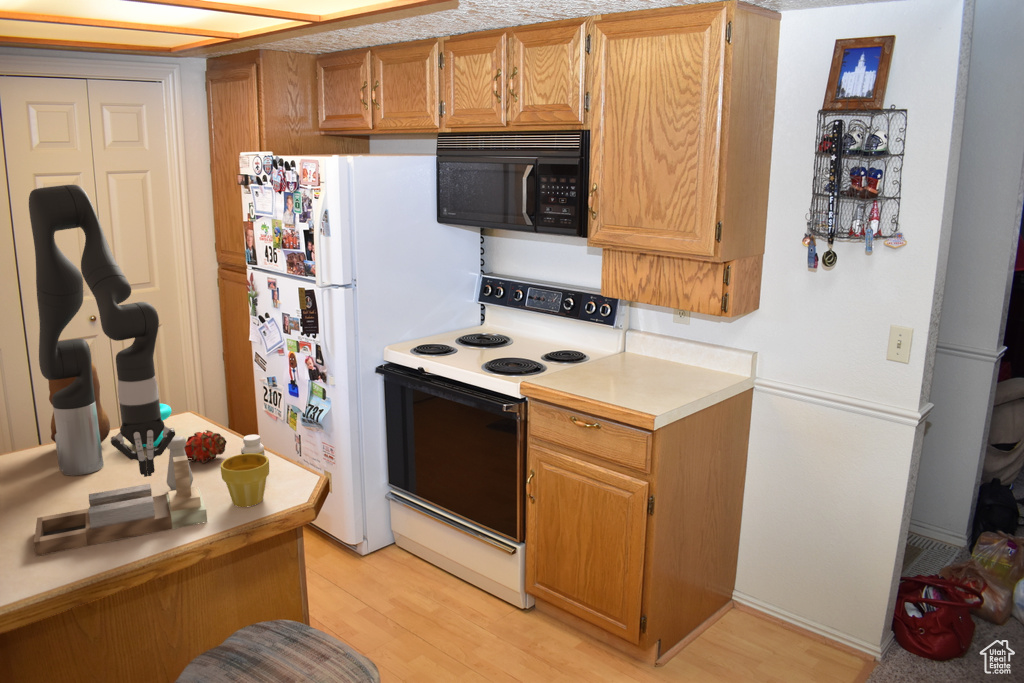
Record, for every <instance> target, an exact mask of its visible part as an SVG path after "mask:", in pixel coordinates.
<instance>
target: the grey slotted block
mask: <svg viewBox="0 0 1024 683" xmlns="http://www.w3.org/2000/svg"><path fill="white" fill-rule="evenodd" d="M151 486H152V485H151V483H146V484H139V485H135V486H134V485H133V486H130V487H123V488H117V489H111V490H106V491H101V492H100V491H99V492H95V493H89V494H88V504H89V507H88V508H89V518H90V525H91V529H97V528H102V527H107V526H112V525H118V524H123V523H128V522H133V521H138V520H144V519H149V518H154V517H155V510H154V502H153V497H154V496H153V495H152V487H151Z"/></svg>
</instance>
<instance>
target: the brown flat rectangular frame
mask: <svg viewBox="0 0 1024 683" xmlns="http://www.w3.org/2000/svg"><path fill="white" fill-rule="evenodd" d="M198 491H199V495H200V501H201V506H199V507H193V508H188V509H182V510H177V511H171V508H170V502H169V494H168V493H167V494H161V495H157V496H156V495H155V496H153V502H154V510H155V517H154V518H149V519H144V520H138V521H133V522H128V523H123V524H118V525H112V526H107V527H102V528H97V529H91V525H90V518H89V507H88V508H84V509H79V510H78V509H77V510H73V511H68V512H67V511H66V512H61V513H56V514H51V515H45V516H40V517H37V518H36V522H35V524H36V526H35V531H34V532H35V533H34V539H33V545H34V546H33V547H34V552H35V556H36V557H38V556H39V557H40V556H43V555H49V554H54V553H58V552H64V551H69V550H74V549H80V548H84V547H88V546H93V545H94V546H95V545H100V544H103V543H108V542H115V541H119V540H125V539H130V538H135V537H138V536H144V535H149V534H155V533H159V532H160V533H161V532H165V531H170V530H174V529H179V528H184V527H190V526H194V524H195V525H198V523H200V524H204V523H203V522H205V523H208V515H207V513H208V512H207V508H206V504H205V501H204V498H203V496H202V493H201V489H200V488H198Z"/></svg>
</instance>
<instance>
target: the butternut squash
mask: <svg viewBox="0 0 1024 683" xmlns="http://www.w3.org/2000/svg"><path fill="white" fill-rule="evenodd" d="M98 375H99V374H98V372H97V368H96V366H95V364H94V363H93V362H92V376H93V386H94V395H95V402H96V410H97V417H98V425H99V433H100V441H101V444H102V443H103V442H104V441H105V440H106V439H107V438H108V436H109V434H110V432H111V431H110V430H111V424H110V419H109V416H108V414H107V412H106V411H105V409H104V408H103V406H102V404H101V399H100V398H101V396H100V395H101V394H100V393H101V385H100V380H99V376H98ZM75 379H76V377H72V378H65V379H59V380H48V379H47V381H48V389H49V390H48V391H49V397H48V400H49V402H50V404H51V406H53V404H52V396H53V395H54V394H55V393H56V392H58V391H60V390H62V389H64V388H65V387H67V386H69V385H70V384H71V383H73V382H74V381H75ZM52 411H53V410H52ZM50 431H51V434H50V439H51V440H52V441H53V442H54V443H56V441H55V434H56V433H57V431H56V424H55V418H54V411H53V412H52V416H51V422H50Z"/></svg>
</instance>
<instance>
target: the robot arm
mask: <svg viewBox="0 0 1024 683" xmlns="http://www.w3.org/2000/svg"><path fill="white" fill-rule="evenodd" d="M28 196H29V197H28V212H29V219H30V226H31V232H32V233H31V234H32V237H33V245H34V253H35V255H34V256H35V285H36V286H35V287H36V299H37V308H38V319H39V322H38V323H39V334H38V336H39V339H38V340H39V341H38V362H39V368H40V373H41V374H42V376H43V377H44V379H45V380H47V381H48V380H59V379H65V378H72V377H76V379H75V381H74V382H73V383H71V384H70V385H69V386H67V387H65V388H64V389H62V390H60V391H58V392H56V393H55V394H54V395H53V396H52V404H53V405H52V404H51V405H52V409H53V410H52V411H54V418H55V424H56V431H57V433H56V434H55V441H56V442H55V446H56V448H55V449H56V452H57V453H56V454H57V455H56V456H57V461H58V467H59V471H61V473H62V474H64V475H66V476H82V475H88V474H91V473H95V472H97V471H99V470H100V469H102V468H103V467H104V458H103V449H102V443H101V441H100V433H99V425H98V417H97V410H96V402H95V395H94V386H93V376H92V363H93V361H92V352H91V348H90V344H89V343H88V341H87V340H86V339H84V338H73V339H65V340H59V339H60V336H61V334H62V332H63V331H64V329H65V328H66V327H67V325H69V323H70V322H71V321H72V320H73V319H74V317H76V314H78V312H80V311H79V310H80V309H81V307H82V305H83V302H84V281H85V283H86V285H87V286H88V289H89V290H90V291H91V294H92V295H93V297H94V299H95V301H96V305H97V309H98V313H99V319H100V325H101V330H102V332H103V333H104V335H106V336H107V338H109V339H110V340H113V341H116V342H118V341H119V342H120V341H125V340H130V339H134V340H133V342H132V344H131V345H130V346H127V347H126V348H124V349H122V350H120V351H118V352H117V353H116V354H115V355H116V356H115V366H116V374H117V393H118V395H117V397H118V404H119V411H120V418H121V426H120V428H119V432H118V433H117V434H116V435H113V436H111V437H110V444H111V446H113V447H114V448H116V450H118V451H119V452H120V453H122V454H123V455H124V456H125V457H126V458H127V459H129V460H130V461H133V460H135V461H138V467H139V473H140V475H141V476H143V477H144V478H145V477H152V474H154V473H155V462H154V458H156V457H158V456H159V457H160V456H162V455H163V453H164V452H165V451H166V449H168V448H167V446H168V445H169V443H170V442H171V440H172V439H173V438H174V436H176V431H175V429H174V428H173V427H168V426H166V425H165V422H164V420H163V421H162V419H161V412H160V396H159V395H160V394H159V387H158V386H159V385H158V381H157V378H156V369H155V363H154V360H155V359H154V353H155V348H156V342H157V337H158V333H159V327H160V326H159V325H160V319H159V314H158V311H157V310H156V308H155V307H154V306H153V305H152V304H151V303H149V302H147V301H137V302H132V303H126V304H125V303H124V302H125V301H126V300H128V298H130V296H132V286H131V284H130V283H129V281H128V279H127V278H126V276H125V273H124V272H123V271H122V269H121V268H120V265H119V264H118V262H117V260H116V259H115V256H114V255H113V253H112V251H111V248H110V246H109V243H108V241H107V238H106V235H105V232H104V230H103V227H102V225H101V222H100V220H99V217H98V215H97V212H96V210H95V207H94V206H93V203H92V201H91V198H90V196H89V195H88V194H87V192H86V190H84V188H83V187H81V186H80V185H78V184H63V185H54V186H46V187H44V186H43V187H39V188H34V189H33V190H31V191H30V193H29V195H28ZM77 228H80V229H81V230H82V231H83V233H84V236H85V242H84V248H83V252H82V255H81V260H80V270H79V268H78V267H77V265H75V264H74V262H73V261H72V260H70V259H69V257H67V256H66V255H65V254H64V252H62V250H61V249H60V248H59V247H58V244H57V243H56V240H55V233H56V232H58V231H65V230H71V229H77ZM122 303H124V304H122ZM162 431H163V438H162V440H161V441H160V443H159V444H158V445H157V447H153V442H155V441H156V440H157V438H158V437H159V435H160V434H161V432H162ZM125 439H126V440H127V441H128V442H129V443H131V445H133V446H135V449H136V451H134V450H133V449H132V448H131V447H129V446H128V445H127V444H125ZM143 444H146V447H145V449H146V450H145V451H146V454H145V452H144V447H142V445H143ZM145 455H146V457H145Z"/></svg>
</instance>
